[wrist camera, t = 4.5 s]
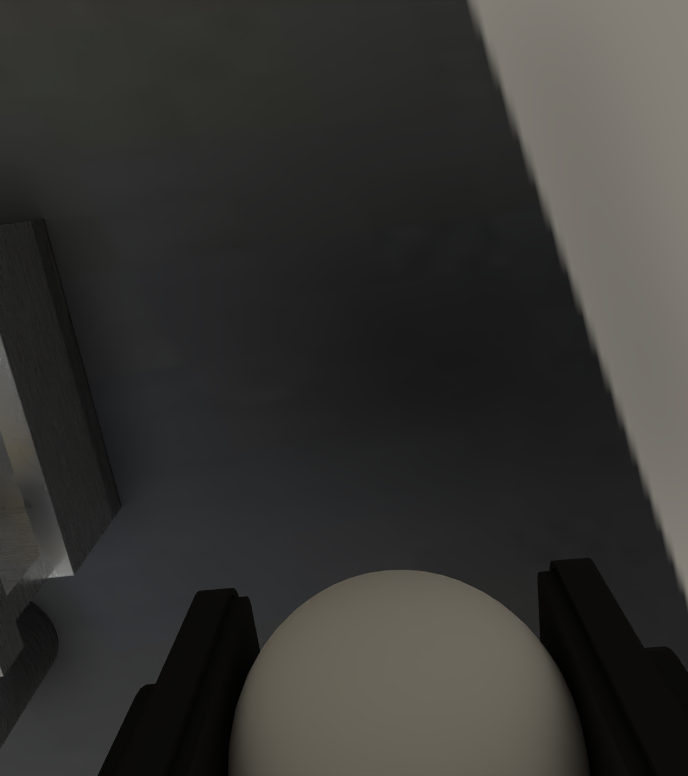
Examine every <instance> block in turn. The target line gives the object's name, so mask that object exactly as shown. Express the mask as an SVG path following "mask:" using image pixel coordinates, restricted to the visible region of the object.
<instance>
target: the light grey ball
mask: <svg viewBox="0 0 688 776" xmlns="http://www.w3.org/2000/svg"><path fill="white" fill-rule="evenodd" d="M228 776H590V766H589V759H588V753H587V749H586V744H585V739H584V734H583V729H582V725H581V721H580V717H579V714H578V711H577V708H576V705H575V702H574V699H573V696H572V694H571V692H570V690H569V688H568V685H567V683H566V681H565V679H564V677H563V675H562V673H561V671H560V669H559V667H558V666H557V664H556V663H555V661H554V660H553V659H552V657H551V656H550V654H549V653H548V651H547V650H546V648H545V647H544V646H543V644H542V643H541V642H540V640H539V639H538V638H537V637H536V636H535V634H534V633H533V632H532V631H531V630H530V629H529V628H528V627H527V626H526V625H525V624H524V623H523V622H522V621H521V620H520V619H519V618H518V617H517V616H516V615H514V614H513V613H512V612H511V611H510V610H508V609H507V608H506V607H505V606H504V605H502V604H501V603H500V602H498V601H496V600H495V599H493V598H492V597H490V596H489V595H487V594H485V593H484V592H482V591H480V590H478V589H476V588H474V587H472V586H470V585H468V584H465V583H463V582H461V581H459V580H456V579H453V578H450V577H447V576H444V575H439V574H434V573H429V572H425V571H414V570H386V571H379V572H372V573H367V574H363V575H359V576H355V577H352V578H349V579H346V580H344V581H341V582H339V583H336V584H334V585H332V586H330V587H329V588H327V589H325V590H323V591H321V592H320V593H318V594H316V595H315V596H313V597H312V598H310V599H309V600H308V601H306V602H305V603H304V604H302V605H301V606H300V607H298V608H297V609H296V610H295V611H294V612H293V613H292V614H291V615H290V616H289V617H288V618H287V619H286V620H285V621H284V622H283V623H282V624H281V625H280V626H279V627H278V628H277V629H276V630H275V632H274V633H273V634H272V636H271V637H270V638H269V640H268V641H267V642H266V643H265V645H264V646H263V648H262V650H261V652H260V653H259V655H258V657H257V659H256V660H255V662H254V664H253V666H252V668H251V669H250V671H249V673H248V675H247V678H246V681H245V683H244V686H243V689H242V692H241V694H240V697H239V700H238V703H237V705H236V709H235V714H234V719H233V725H232V730H231V736H230V741H229V758H228Z"/></svg>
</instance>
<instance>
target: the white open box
mask: <svg viewBox="0 0 688 776" xmlns="http://www.w3.org/2000/svg"><path fill="white" fill-rule="evenodd" d="M120 509H121V506H120V502H119V498H118V495H117V491H116V487H115V483H114V480H113V476H112V472H111V469H110V465H109V461H108V457H107V454H106V450H105V446H104V443H103V439H102V435H101V431H100V428H99V424H98V420H97V417H96V413H95V409H94V405H93V402H92V398H91V394H90V391H89V387H88V383H87V379H86V376H85V372H84V368H83V365H82V361H81V357H80V354H79V350H78V346H77V342H76V339H75V335H74V331H73V328H72V324H71V320H70V316H69V313H68V309H67V305H66V302H65V298H64V294H63V290H62V287H61V283H60V279H59V276H58V272H57V268H56V264H55V261H54V257H53V253H52V250H51V246H50V242H49V238H48V235H47V231H46V227H45V224H44V220H43V219H41V220H33V221H26V222H18V223H11V224H3V225H0V677H2V676H4V675H5V674H6V672H7V671H8V669H9V668H10V666H11V665H12V663H13V662H14V661H15V659H16V658H17V656H18V655H19V653H20V652H21V651H22V649H23V648H24V645H23V642H22V639H21V636H20V633H19V630H18V627H17V625H16V622H15V621H16V619H17V618H18V617H19V615H20V614H21V613H22V611H23V610H24V609H25V607H26V606H27V605H28V604H29V602H30V601H31V600H32V598H33V597H34V596H35V594H36V593H37V592H38V590H39V589H40V588H41V586H42V585H43V584H44V582H45V581H46V580H47V578H52V577H62V576H72V575H75V573H76V572H77V570H78V569H79V567H80V566H81V565H82V563H83V562H84V560H85V559H86V557H87V556H88V554H89V553H90V552H91V550H92V549H93V547H94V546H95V544H96V543H97V542H98V540H99V539H100V537H101V536H102V534H103V533H104V532H105V530H106V529H107V527H108V526H109V524H110V523H111V521H112V520H113V519H114V517H115V516H116V514H117V513H118V511H119V510H120Z"/></svg>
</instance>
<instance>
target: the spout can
mask: <svg viewBox="0 0 688 776" xmlns="http://www.w3.org/2000/svg"><path fill="white" fill-rule="evenodd" d="M15 622H16V625H17V627H18V630H19V633H20V636H21V639H22V642H23V645H24V648H23V649H22V651H21V652H20V653H19V655H18V656H17V658H16V659H15V661H14V662H13V663H12V665H11V666H10V668H9V669H8V671H7V672H6V674H5V675H4V676H2V677H0V748H1V747H2V745H3V744H4V742H5V740H6V739H7V737H8V735H9V734H10V732H11V731H12V729H13V727H14V726H15V724H16V722H17V721H18V719H19V718H20V716H21V714H22V713H23V711H24V710H25V708H26V706H27V705H28V703H29V701H30V700H31V698H32V697H33V695H34V693H35V692H36V690H37V688H38V687H39V685H40V684H41V682H42V680H43V679H44V677H45V675H46V674H47V672H48V671H49V669H50V667H51V666H52V664H53V662H54V660H55V658H56V655H57V651H58V639H57V635H56V632H55V629H54V627H53V625H52V623H51V621H50V620H49V619H48V617H47V616H46V615H45V614H44V613H43V611H42V610H41V609H39V608H38V607H37V606H36V605H35V604H33V603H32V602H29V604H28V605H27V606H26V607H25V609H24V610H23V611H22V613H21V614H20V615H19V617H18V618H17V619H16V621H15Z"/></svg>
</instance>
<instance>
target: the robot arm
mask: <svg viewBox="0 0 688 776" xmlns="http://www.w3.org/2000/svg"><path fill="white" fill-rule="evenodd" d="M538 600H539V621H540V642H541V643H542V644H543V646H544V647H545V648H546V650H547V651H548V653H549V654H550V656H551V657H552V659H553V660H554V661H555V663H556V664H557V666H558V667H559V669H560V671H561V673H562V675H563V677H564V679H565V681H566V683H567V685H568V688H569V690H570V692H571V694H572V696H573V699H574V702H575V705H576V708H577V711H578V714H579V717H580V721H581V725H582V729H583V734H584V739H585V744H586V749H587V753H588V759H589V766H590V776H688V672H687V671H686V669H685V668H684V666H683V665H682V663H681V662H680V660H679V658H678V657H677V656H676V655H675V653H674V652H673V651H672V650H671V649H669V648H668V647H666V646H665V647H651V648H644V647H643V645H642V644H641V642H640V640H639V639H638V637H637V635H636V633H635V632H634V630H633V628H632V627H631V625H630V623H629V622H628V620H627V618H626V617H625V615H624V613H623V612H622V610H621V608H620V606H619V605H618V603H617V601H616V600H615V598H614V596H613V595H612V593H611V591H610V590H609V588H608V586H607V585H606V583H605V581H604V579H603V578H602V576H601V574H600V573H599V571H598V569H597V568H596V566H595V564H594V563H593V561H592V560H591V559H590V558H580V559H568V560H556V561H551V563H550V571H544V572H539V573H538ZM259 653H260V648H259V643H258V638H257V633H256V628H255V623H254V617H253V612H252V607H251V603H250V600H249V598H248V597H247V596H246V597H238V593H237V591H236V589H234V588H226V589H215V590H203V591H198V592H197V593H196V595H195V597H194V599H193V601H192V603H191V606H190V608H189V610H188V612H187V615H186V617H185V619H184V621H183V624H182V626H181V628H180V630H179V633H178V635H177V637H176V639H175V642H174V644H173V646H172V648H171V651H170V653H169V655H168V657H167V659H166V662H165V664H164V666H163V668H162V671H161V673H160V675H159V677H158V680H157V682H156V684H148V685H145V686H143V687H142V688H140V690H139V692H138V693H137V695H136V696H135V698H134V700H133V702H132V705H131V707H130V709H129V711H128V713H127V715H126V717H125V719H124V721H123V723H122V726H121V728H120V730H119V732H118V734H117V736H116V738H115V740H114V742H113V744H112V747H111V749H110V751H109V753H108V755H107V757H106V759H105V761H104V763H103V766H102V768H101V770H100V772H99V774H98V776H228V758H229V741H230V736H231V730H232V725H233V719H234V714H235V709H236V705H237V703H238V700H239V697H240V694H241V692H242V689H243V686H244V683H245V681H246V678H247V675H248V673H249V671H250V669H251V668H252V666H253V664H254V662H255V660H256V659H257V657H258V655H259Z"/></svg>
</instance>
